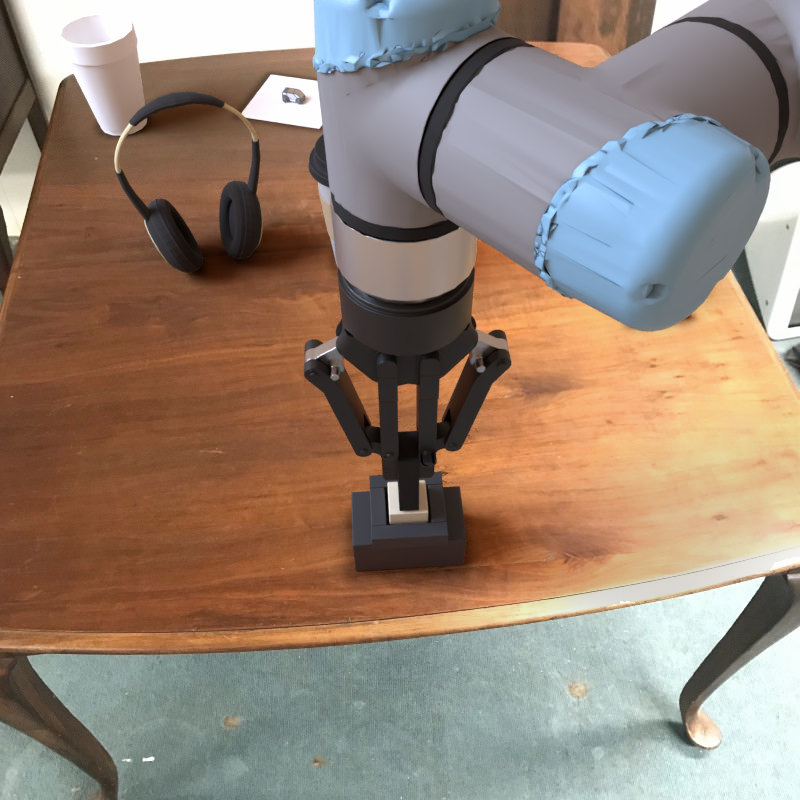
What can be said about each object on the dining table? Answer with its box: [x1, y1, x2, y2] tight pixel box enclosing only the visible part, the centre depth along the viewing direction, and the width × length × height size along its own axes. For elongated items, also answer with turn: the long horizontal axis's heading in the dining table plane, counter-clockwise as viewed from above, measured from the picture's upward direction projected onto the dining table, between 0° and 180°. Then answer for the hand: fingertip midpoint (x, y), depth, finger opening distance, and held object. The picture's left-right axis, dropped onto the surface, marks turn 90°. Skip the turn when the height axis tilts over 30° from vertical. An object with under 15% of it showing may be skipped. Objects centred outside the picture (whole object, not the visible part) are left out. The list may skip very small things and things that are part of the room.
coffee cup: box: [308, 133, 338, 268], centre depth 83 cm, size 9×9×15 cm
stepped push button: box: [350, 471, 467, 572], centre depth 63 cm, size 9×6×6 cm, turn 93°
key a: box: [388, 480, 428, 525], centre depth 61 cm, size 3×3×2 cm
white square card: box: [240, 74, 323, 130], centre depth 110 cm, size 12×12×2 cm
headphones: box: [114, 90, 264, 274], centre depth 82 cm, size 9×15×20 cm, turn 112°
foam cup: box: [55, 11, 148, 137], centre depth 102 cm, size 10×9×13 cm
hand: (408, 495), depth 60 cm, fingers closed
